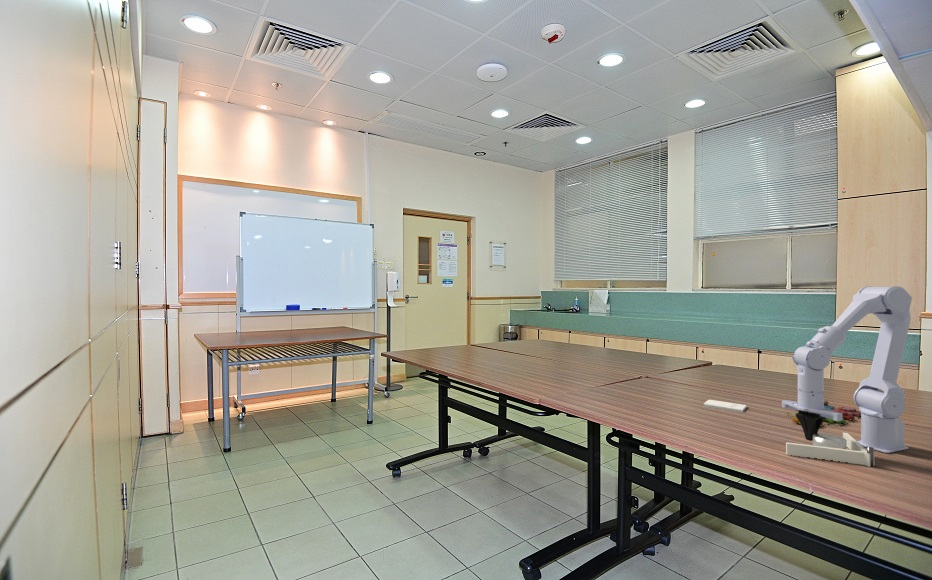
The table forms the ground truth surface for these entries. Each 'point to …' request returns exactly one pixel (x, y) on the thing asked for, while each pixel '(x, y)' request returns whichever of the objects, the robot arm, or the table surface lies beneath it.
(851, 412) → the gear puzzle
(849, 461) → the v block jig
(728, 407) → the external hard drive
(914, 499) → the table surface
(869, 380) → the robot arm
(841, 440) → the translucent glass bowl
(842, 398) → the table surface
